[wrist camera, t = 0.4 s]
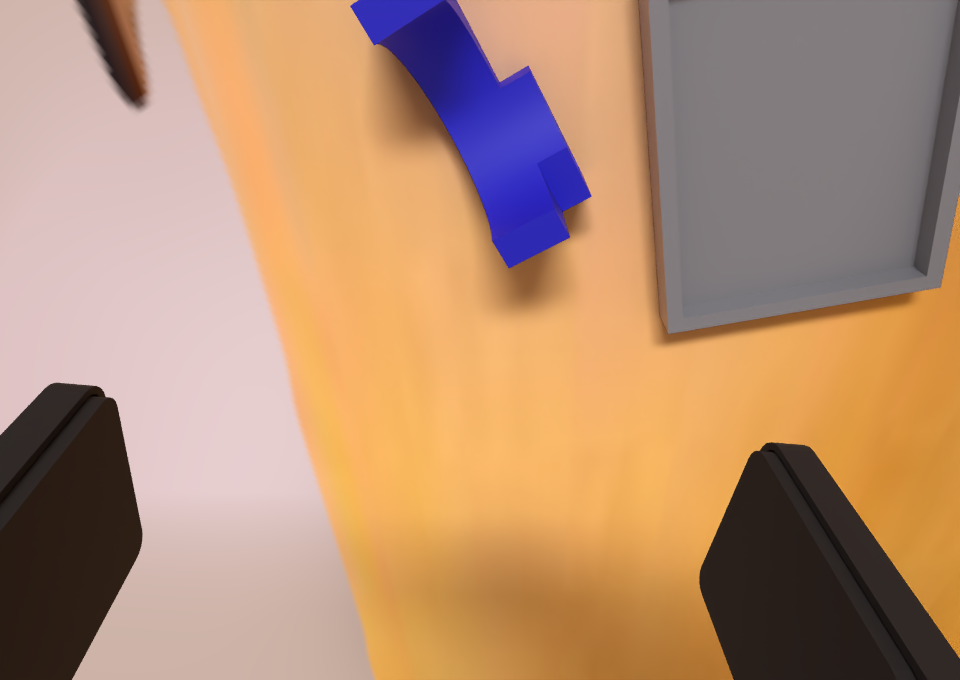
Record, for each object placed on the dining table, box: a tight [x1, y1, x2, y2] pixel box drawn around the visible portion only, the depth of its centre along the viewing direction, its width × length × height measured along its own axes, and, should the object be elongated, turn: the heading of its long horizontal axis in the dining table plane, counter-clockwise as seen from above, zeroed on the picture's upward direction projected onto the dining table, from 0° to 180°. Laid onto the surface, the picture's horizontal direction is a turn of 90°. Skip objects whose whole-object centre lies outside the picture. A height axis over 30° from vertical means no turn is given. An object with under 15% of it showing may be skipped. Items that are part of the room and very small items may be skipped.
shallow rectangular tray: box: [639, 0, 960, 334], centre depth 31 cm, size 14×18×2 cm
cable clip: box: [351, 0, 592, 268], centre depth 28 cm, size 12×4×6 cm, turn 30°
